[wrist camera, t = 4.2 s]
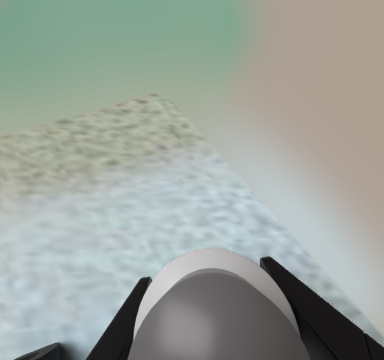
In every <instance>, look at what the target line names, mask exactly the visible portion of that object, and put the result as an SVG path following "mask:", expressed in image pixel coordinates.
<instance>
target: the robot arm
mask: <svg viewBox="0 0 384 360" xmlns="http://www.w3.org/2000/svg"><path fill="white" fill-rule="evenodd" d="M260 267H261V268H262V269H263V270H264V271H265V272H266V273H267V274H268V275H269V276H270V277H271V278H272V279H273V280H274V281H275V283H276V284H277V285H278V287H279V288H280V289H281V291H282V292H283V294H284V296H285V297H286V299H287V301H288V303H289V305H290V307H291V309H292V312H293V314H294V316H295V319H296V322H297V326H298V329H299V333H300V338H301V340H302V342H303V344H304V346H305V347H306V350H307V352H308V354H309V357H310V359H311V360H384V347H383V346H381V345H380V344H379V343H378V342H376V341H375V340H374V339H373V338H371V337H370V336H369V335H368V334H366V333H365V334H364V332H363V331H362V330H361V329H360V328H359V327H357V326H356V325H355V324H354V323H352V322H351V321H350V320H349V319H347V318H346V317H345V316H344V315H342V314H341V313H340V312H339V311H337V310H336V309H335V308H334V307H332V306H331V305H330V304H329V303H327V302H326V301H325V300H324V299H323V298H321V297H320V296H319V295H318V294H316V293H315V292H314V291H313V290H311V289H310V288H309V287H308V286H306V285H305V284H304V283H303V282H301V281H300V280H299V279H298V278H296V277H295V276H294V275H293V274H291V273H290V272H289V271H288V270H286V269H285V268H284V267H283V266H281V265H280V264H279V263H278V262H276V261H275V260H274V259H273V258H271V257H269V256H267V257H262V258H260ZM151 282H152V279H151V277H143V278H141V279H140V280H139V282H138V283H137V285H136V286H135V287H134V289H133V290H132V292H131V293H130V295H129V296H128V298H127V299H126V301H125V302H124V304H123V305H122V307H121V308H120V310H119V311H118V313H117V314H116V316H115V317H114V319H113V320H112V322H111V323H110V325H109V326H108V327H107V329H106V330H105V332H104V333H103V335H102V336H101V338H100V339H99V341H98V342H97V344H96V345H95V347H94V348H93V350H92V351H91V353H90V354H89V356H88V357H87V359H86V360H128V356H129V353H130V349H131V346H132V343H133V339H134V328H135V323H136V317H137V314H138V310H139V307H140V304H141V302H142V299H143V297H144V294H145V293H146V291H147V289H148V287H149V285H150V284H151Z"/></svg>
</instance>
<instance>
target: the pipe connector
mask: <svg viewBox="0 0 384 360" xmlns="http://www.w3.org/2000/svg"><path fill="white" fill-rule="evenodd" d="M14 360H60V350H59V343H54V344H51V345H49V346H46V347H44V348H41V349H38V350H36V351H33V352H31V353H28V354H25V355H23V356H21V357H19V358H17V359H14Z"/></svg>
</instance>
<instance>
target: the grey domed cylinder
mask: <svg viewBox="0 0 384 360" xmlns="http://www.w3.org/2000/svg"><path fill="white" fill-rule="evenodd" d="M128 360H311V359H310V357H309V354H308V352H307V350H306V347H305V346H304V344H303V342H302V340H301V338H300V333H299V329H298V326H297V322H296V319H295V316H294V314H293V312H292V309H291V307H290V305H289V303H288V301H287V299H286V297H285V296H284V294H283V292H282V291H281V289H280V288H279V287H278V285H277V284H276V283H275V281H274V280H273V279H272V278H271V277H270V276H269V275H268V274H267V273H266V272H265V271H264V270H263V269H262V268H261V267H260V266H258V265H257V264H256V263H254V262H253V261H251V260H250V259H248V258H246V257H244V256H242V255H240V254H237V253H235V252H232V251H228V250H224V249H216V248H208V249H199V250H195V251H191V252H188V253H186V254H184V255H181V256H179V257H178V258H176V259H174V260H173V261H171V262H170V263H169V264H168V265H166V266H165V267H164V268H163V269H162V270H161V271H160V272H159V273H158V274H157V276H156V277H155V278H154V280H153V281H152V282H151V284H150V285H149V287H148V289H147V291H146V293H145V294H144V297H143V299H142V302H141V304H140V307H139V310H138V314H137V317H136V323H135V328H134V339H133V343H132V346H131V349H130V353H129V356H128Z"/></svg>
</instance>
